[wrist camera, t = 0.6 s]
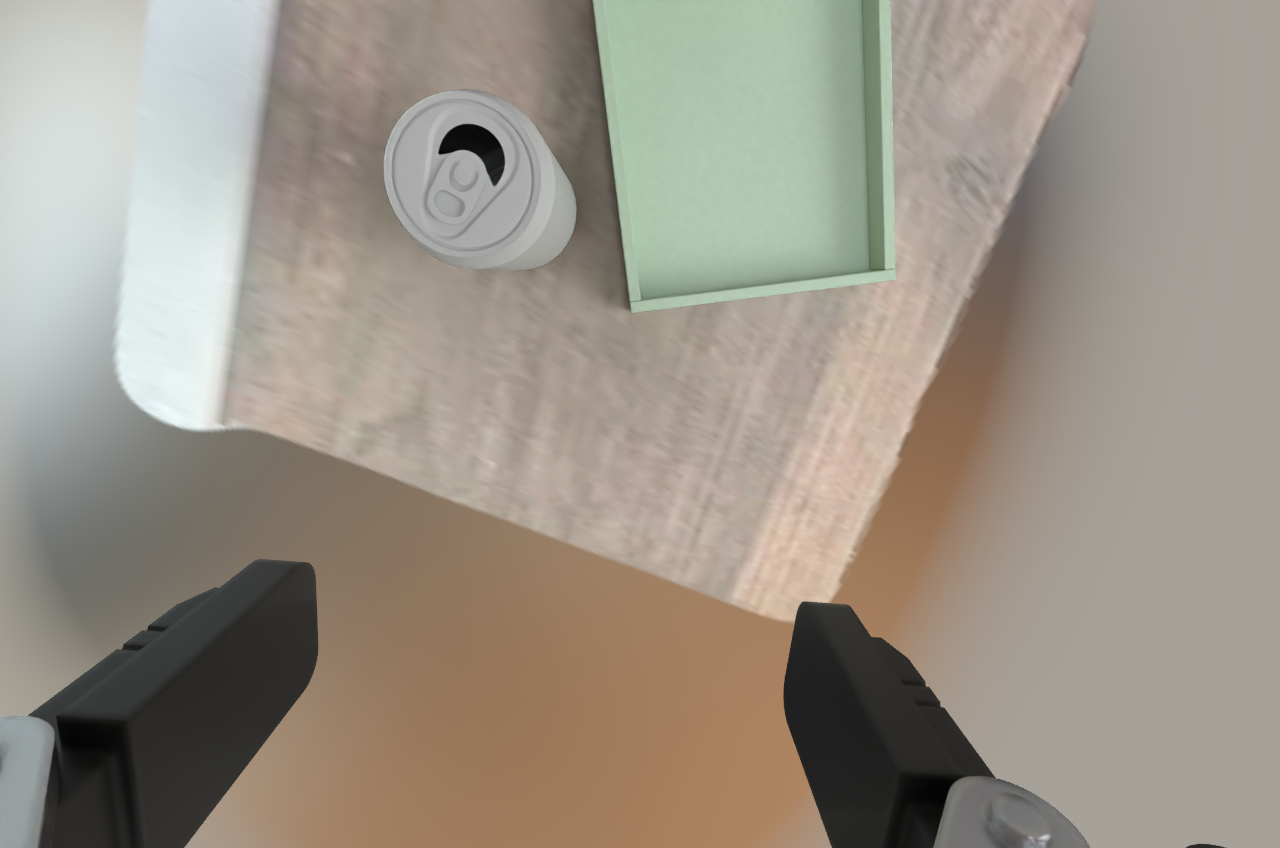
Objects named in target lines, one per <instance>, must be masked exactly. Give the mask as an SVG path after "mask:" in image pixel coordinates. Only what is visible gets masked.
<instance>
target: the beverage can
mask: <svg viewBox="0 0 1280 848" xmlns="http://www.w3.org/2000/svg"><path fill="white" fill-rule="evenodd" d="M383 173H384V183H385V188H386V192H387V195H388V198H389V201H390V203H391V206H392V208H393V210H394V212H395V214H396V216H397V218H398V220H399V222H400V223H401V225H402V227H403V228H404V229H405V231H406V232H407V234H408V235H409V236H410V237H411V238H412V240H413V241H414V242H415V243H416V244H417V245H419V246H420V247H421V248H422V249H423V250H424V251H426V252H427V253H429V254H430V255H432V256H433V257H435V258H437V259H439V260H441V261H443V262H445V263H448V264H450V265H454V266H458V267H462V268H470V269H495V270H530V269H534V268H538V267H540V266H543V265H545V264H547V263H548V262H550V261H552V260H553V259H554V258H555V257H557V256H558V255H559V254H560V253H561V252H562V250H563V249H564V248H565V247H566V245H567V244H568V242H569V240H570V238H571V236H572V233H573V231H574V227H575V222H576V213H577V207H576V199H575V194H574V191H573V188H572V185H571V183H570V181H569V180H568V178H567V176H566V174H565V173H564V171H563V170H562V168H561V166H560V165H559V163H558V162H557V160H556V158H555V157H554V155H553V154H552V152H551V150H550V149H549V147H548V146H547V144H546V142H545V141H544V139H543V138H542V136H541V134H540V133H539V131H538V130H537V128H536V126H535V125H534V124H533V123H532V121H531V120H530V119H529V118H528V117H527V116H526V115H525V114H524V113H523V112H522V111H520V110H519V109H518V108H517V107H515V106H514V105H512V104H511V103H509V102H508V101H506V100H504V99H502V98H500V97H498V96H495V95H493V94H490V93H486V92H483V91H478V90H453V91H446V92H440V93H436V94H433V95H430V96H428V97H426V98H424V99H422V100H420V101H418V102H417V103H415V104H414V105H413V106H411V107H410V108H409V109H408V110H407V111H406V112H405V113H404V114H403V115H402V116H401V117H400V119H399V120H398V121H397V123H396V124H395V126H394V128H393V130H392V132H391V133H390V136H389V139H388V142H387V145H386V149H385V154H384V162H383Z"/></svg>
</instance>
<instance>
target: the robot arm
mask: <svg viewBox="0 0 1280 848" xmlns="http://www.w3.org/2000/svg"><path fill="white" fill-rule="evenodd" d="M317 628H318V627H317V601H316V578H315V572H314V569H313V567H312V565H311V564H309V563H306V562H293V561H280V560H266V559H258V560H256V561H254V562H252V563H251V564H249V565H248V566H247V567H246V568H244V569H243V570H242V571H241V572H240V573H238V574H237V575H235V576H234V577H233V578H232V579H231V580H229V581H228V582H226V583H225V584H224V585H223V586H221V587H220V588H213V589H211V590H209V591H206V592H204V593H202V594H200V595H198V596H196V597H193V598H191V599H188V600H186V601H184V602H182V603H180V604H177V605H176V606H175V607H173V608H172V609H171V610H169V611H168V612H167V613H165V614H164V615H163V616H161V617H160V618H158V619H157V620H156V621H154V622H153V623H152V624H150V625H149V626H148V629H147V631H143V630H142V631H141V632H140V633H138V634H137V635H136V636H134V637H133V638H132V639H130V640H129V641H128V642H126V643H125V644H124V645H123V648H122V650H119V649H118V650H115V651H114V652H113V653H111V654H110V655H109V656H107V657H106V658H105V659H104V660H102V661H101V662H99V663H98V664H97V665H95V666H94V667H93V668H91V669H90V670H89V671H87V672H86V673H85V674H83V675H82V676H80V677H79V678H78V679H76V680H75V681H74V682H72V683H71V684H70V685H68V686H67V687H66V688H64V689H63V690H62V691H60V692H59V693H58V694H56V695H55V696H54V697H52V698H51V699H50V700H48V701H47V702H46V703H44V704H43V705H41V706H40V707H39V708H38V709H36V710H35V711H33V712H32V713H31V714H29V715H28V716H8V717H0V848H184V847H185V846H186V845H187V843H188V842H189V841H190V839H191V838H192V837H193V835H194V834H195V833H196V831H197V830H198V829H199V827H200V826H201V825H202V824H203V822H204V821H205V820H206V818H207V817H208V816H209V814H210V813H211V812H212V811H213V809H214V808H215V807H216V805H217V804H218V803H219V801H220V800H221V799H222V797H223V796H224V795H225V794H226V792H227V791H228V790H229V788H230V787H231V786H232V784H233V783H234V782H235V780H236V779H237V778H238V776H239V775H240V774H241V773H242V771H243V770H244V769H245V767H246V766H247V765H248V763H249V762H250V761H251V760H252V758H253V757H254V756H255V754H256V753H257V752H258V750H259V749H260V748H261V746H262V745H263V744H264V743H265V741H266V740H267V739H268V737H269V736H270V735H271V733H272V732H273V731H274V729H275V728H276V727H277V725H278V724H279V723H280V722H281V720H282V719H283V717H284V716H285V715H286V714H287V712H288V711H289V710H290V709H291V707H292V706H293V705H294V703H295V702H296V701H297V699H298V698H299V697H300V695H301V694H302V693H303V692H304V690H305V689H306V687H307V685H308V684H309V681H310V679H311V677H312V675H313V672H314V669H315V666H316V661H317V656H318V629H317ZM784 709H785V716H786V720H787V724H788V726H789V729H790V732H791V735H792V738H793V741H794V743H795V746H796V749H797V752H798V754H799V757H800V760H801V762H802V766H803V768H804V771H805V774H806V777H807V779H808V782H809V785H810V788H811V790H812V793H813V796H814V799H815V802H816V805H817V807H818V810H819V813H820V815H821V819H822V821H823V824H824V827H825V830H826V832H827V835H828V838H829V841H830V844H831V846H832V848H1090V847H1089V845H1088V843H1087V841H1086V840H1085V838H1084V837H1083V836H1082V835H1081V833H1080V832H1079V830H1078V829H1077V828H1076V827H1075V826H1074V825H1073V824H1072V823H1071V822H1070V821H1069V820H1068V819H1067V818H1066V817H1065V816H1064V815H1063V814H1062V813H1060V812H1059V811H1058V810H1057V809H1056V808H1054V807H1053V806H1051V805H1050V804H1049V803H1047V802H1046V801H1045V800H1043V799H1041V798H1040V797H1038V796H1037V795H1035V794H1033V793H1031V792H1029V791H1028V790H1026V789H1024V788H1021V787H1019V786H1017V785H1014V784H1012V783H1010V782H1007V781H1003V780H1000V779H996V778H995V777H994V775H993V774H992V772H991V771H990V770H989V768H988V767H987V766H986V764H985V763H984V761H983V760H982V759H981V757H980V756H979V755H978V753H977V752H976V751H975V749H974V748H973V746H972V745H971V744H970V742H969V741H968V740H967V738H966V737H965V736H964V734H963V733H962V731H961V730H960V729H959V727H958V726H957V725H956V723H955V722H954V720H953V719H952V718H951V717H950V715H949V714H948V712H947V711H946V710H945V708H942V707H941V706H940V701H939V700H938V699H937V697H936V696H935V694H934V693H933V692H932V690H931V689H930V688H929V687H926V685H925V681H924V679H923V678H922V677H921V675H920V674H919V673H918V671H917V670H916V668H915V667H914V666H913V664H912V663H911V662H910V660H909V659H908V658H907V657H906V656H904V655H903V654H902V653H900V652H899V651H897V650H896V649H895V648H894V647H893V646H891V645H890V644H889V643H887V642H886V641H885V640H883V639H882V638H876V637H871V636H870V635H869V633H868V632H867V630H866V629H865V627H864V626H863V624H862V623H861V621H860V620H859V618H858V617H857V615H856V614H855V612H854V611H853V609H852V608H851V607H850V606H849V605H845V604H831V603H818V602H802V603H801V604H800V606H799V608H798V611H797V615H796V620H795V625H794V631H793V636H792V642H791V648H790V653H789V659H788V664H787V669H786V675H785V682H784ZM1186 848H1224V847H1221V846H1216V845H1210V844H1196V845H1190V846H1188V847H1186Z"/></svg>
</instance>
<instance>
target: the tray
mask: <svg viewBox="0 0 1280 848" xmlns="http://www.w3.org/2000/svg"><path fill="white" fill-rule="evenodd" d="M592 2H593V10H594V18H595V26H596V34H597V42H598V50H599V58H600V66H601V74H602V82H603V90H604V99H605V107H606V115H607V123H608V131H609V139H610V147H611V155H612V163H613V171H614V179H615V187H616V196H617V204H618V212H619V220H620V228H621V236H622V244H623V252H624V260H625V268H626V276H627V284H628V293H629V301H630V309H631V313H638V312H645V311H653V310H661V309H669V308H677V307H685V306H693V305H701V304H709V303H717V302H725V301H733V300H741V299H749V298H757V297H765V296H773V295H781V294H789V293H797V292H805V291H813V290H821V289H829V288H837V287H845V286H853V285H861V284H869V283H877V282H885V281H893V280H895V279H896V275H895V269H894V268H895V222H894V169H893V116H892V63H891V10H890V0H592Z"/></svg>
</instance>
